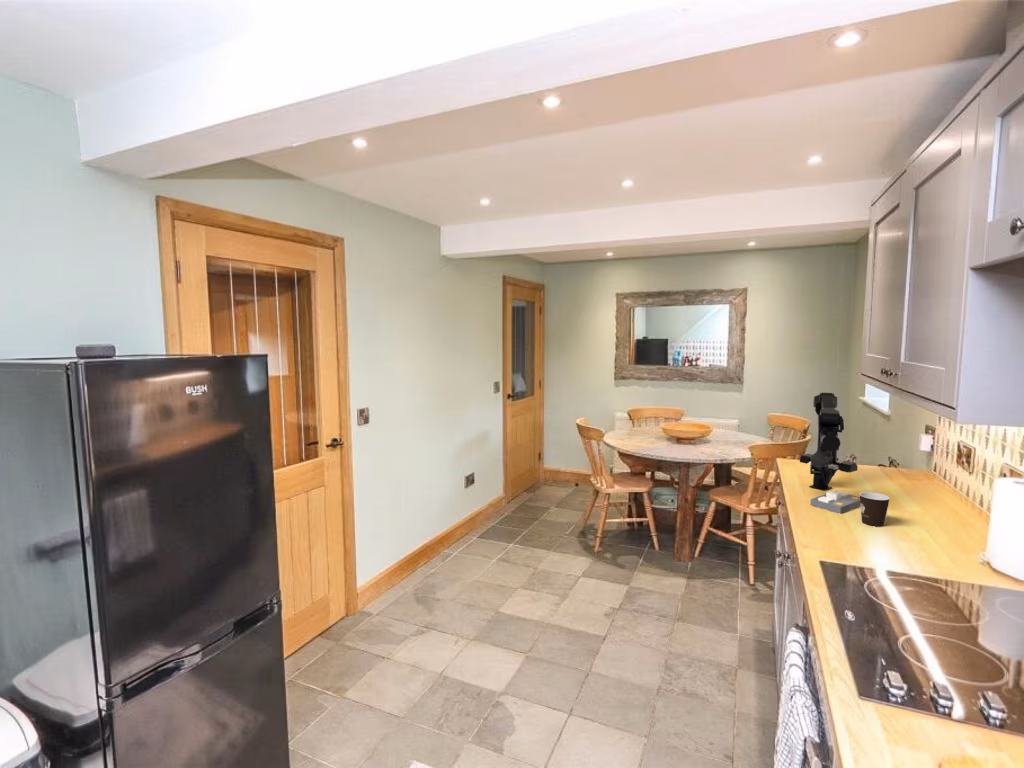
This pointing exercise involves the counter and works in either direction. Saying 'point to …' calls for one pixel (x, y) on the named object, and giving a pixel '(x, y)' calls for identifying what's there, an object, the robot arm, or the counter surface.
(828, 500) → the key
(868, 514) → the coffee mug
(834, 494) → the middle key
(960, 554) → the counter surface
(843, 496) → the key
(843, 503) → the keyguard plate
